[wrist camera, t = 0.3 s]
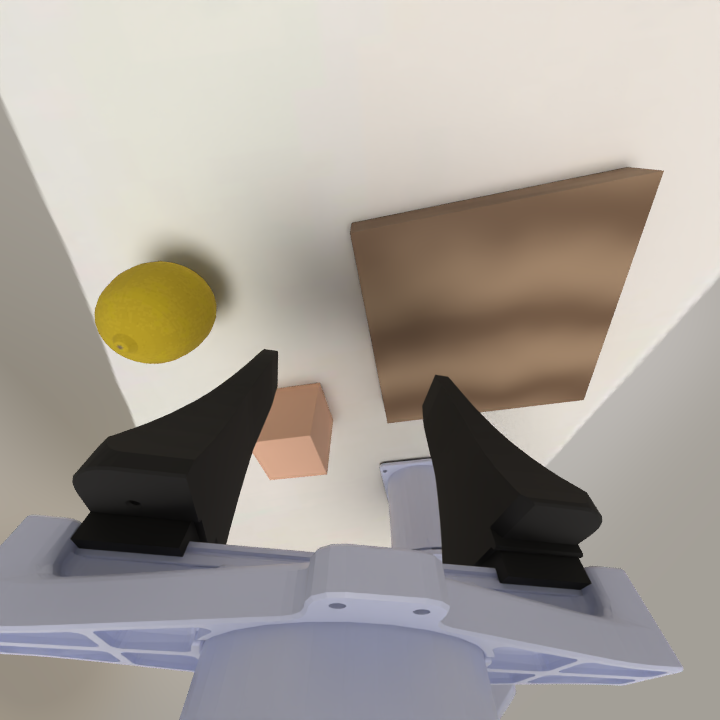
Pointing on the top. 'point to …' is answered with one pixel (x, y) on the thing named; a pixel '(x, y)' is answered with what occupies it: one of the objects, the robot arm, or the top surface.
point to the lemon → (155, 312)
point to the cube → (296, 434)
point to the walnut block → (500, 290)
